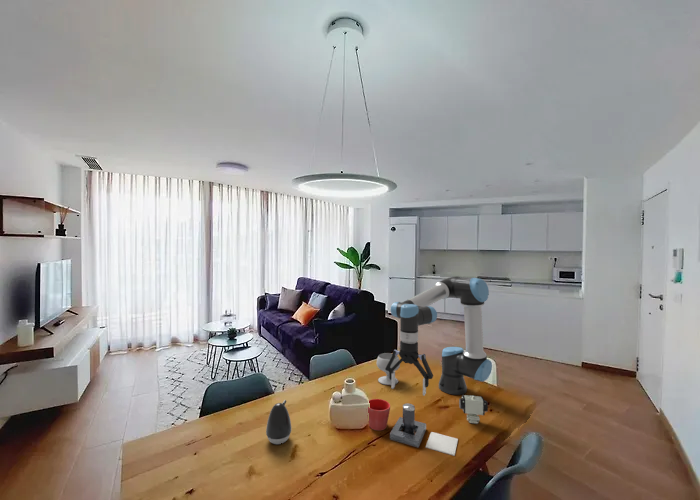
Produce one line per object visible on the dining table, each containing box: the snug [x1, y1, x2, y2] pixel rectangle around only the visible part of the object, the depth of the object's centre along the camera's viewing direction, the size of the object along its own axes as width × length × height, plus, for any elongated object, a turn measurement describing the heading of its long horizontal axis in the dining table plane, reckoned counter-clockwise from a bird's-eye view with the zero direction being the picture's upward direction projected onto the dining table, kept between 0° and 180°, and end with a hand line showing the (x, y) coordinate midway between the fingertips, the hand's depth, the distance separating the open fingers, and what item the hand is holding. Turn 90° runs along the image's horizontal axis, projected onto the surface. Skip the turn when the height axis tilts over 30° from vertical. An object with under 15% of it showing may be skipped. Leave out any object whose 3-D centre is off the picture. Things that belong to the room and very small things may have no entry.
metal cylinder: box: [402, 402, 416, 435], centre depth 131 cm, size 5×5×12 cm
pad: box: [425, 431, 459, 457], centre depth 125 cm, size 11×11×1 cm
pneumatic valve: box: [458, 394, 489, 425], centre depth 141 cm, size 6×12×12 cm, turn 78°
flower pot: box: [368, 398, 391, 432], centre depth 137 cm, size 11×11×10 cm
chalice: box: [376, 352, 401, 386], centre depth 183 cm, size 14×14×15 cm
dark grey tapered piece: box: [265, 399, 292, 445], centre depth 126 cm, size 10×10×15 cm
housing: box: [389, 416, 427, 448], centre depth 131 cm, size 14×12×2 cm
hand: (408, 390), depth 131 cm, fingers open, 13 cm apart
